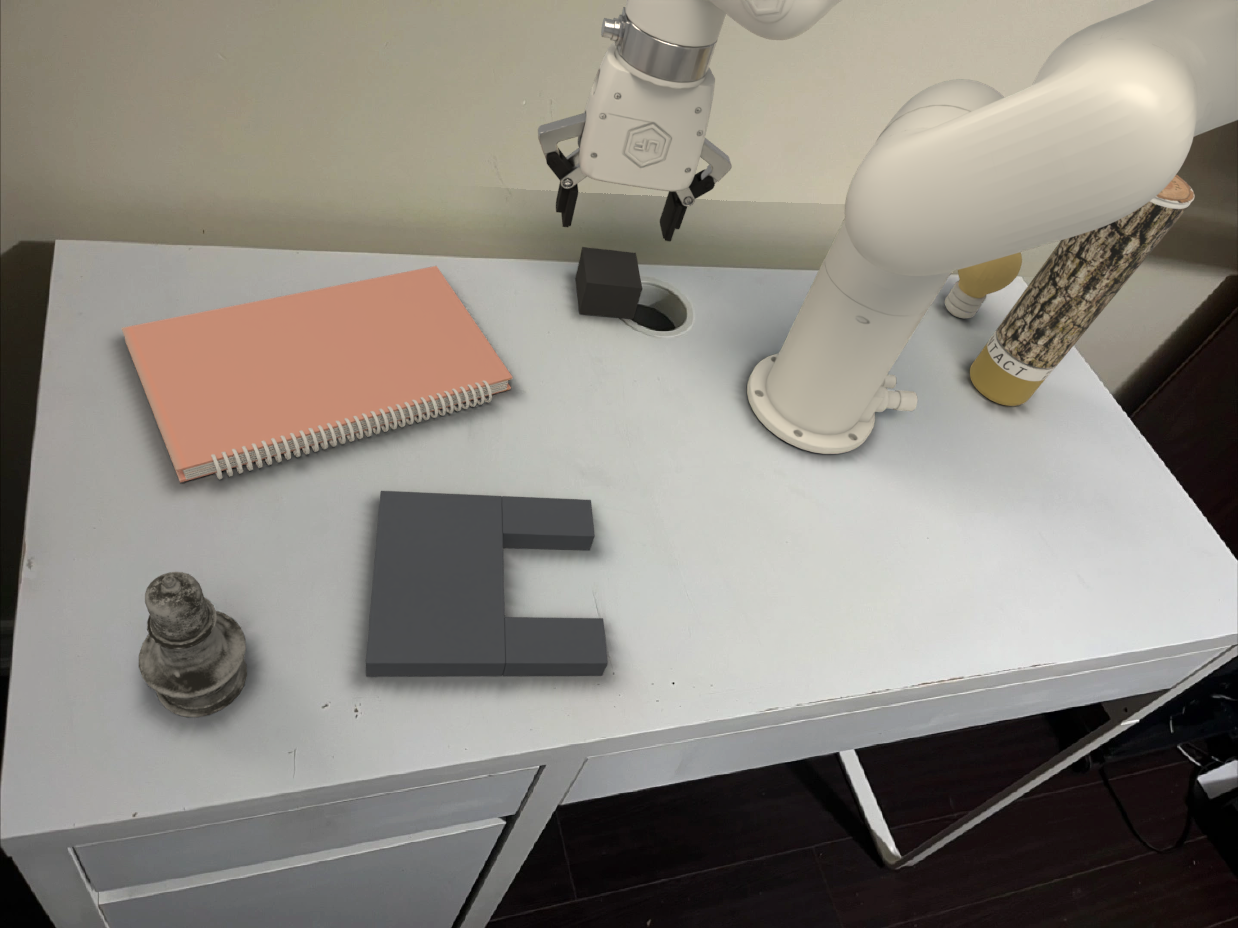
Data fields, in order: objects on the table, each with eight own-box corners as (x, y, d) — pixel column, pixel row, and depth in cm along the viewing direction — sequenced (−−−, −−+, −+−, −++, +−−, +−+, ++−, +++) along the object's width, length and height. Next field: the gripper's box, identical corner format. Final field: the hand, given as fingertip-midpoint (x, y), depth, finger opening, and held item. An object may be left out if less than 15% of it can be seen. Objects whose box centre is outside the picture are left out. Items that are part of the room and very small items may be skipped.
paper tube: (1003, 361, 95) (1158, 157, 76) (1039, 406, 91) (1211, 203, 72) (954, 365, 92) (1101, 156, 73) (989, 412, 88) (1153, 203, 70)
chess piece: (209, 619, 57) (177, 513, 48) (272, 673, 56) (251, 574, 47) (128, 682, 53) (78, 580, 44) (194, 741, 52) (155, 648, 43)
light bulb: (970, 294, 102) (1017, 223, 94) (992, 331, 98) (1043, 260, 90) (923, 290, 100) (967, 218, 93) (943, 327, 96) (990, 255, 89)
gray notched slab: (586, 514, 69) (591, 499, 68) (602, 676, 60) (608, 663, 59) (380, 506, 66) (380, 490, 64) (366, 677, 57) (365, 663, 55)
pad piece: (627, 283, 89) (636, 252, 86) (633, 319, 86) (642, 288, 83) (575, 278, 88) (582, 246, 85) (579, 314, 85) (586, 282, 82)
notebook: (185, 495, 63) (180, 478, 61) (125, 343, 70) (120, 325, 69) (516, 399, 76) (518, 383, 74) (435, 279, 83) (436, 263, 82)
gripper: (560, 49, 63) (525, 238, 76) (777, 89, 68) (709, 262, 80) (554, 2, 68) (522, 188, 81) (758, 43, 72) (696, 213, 85)
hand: (615, 225), depth 81 cm, fingers open, 9 cm apart
